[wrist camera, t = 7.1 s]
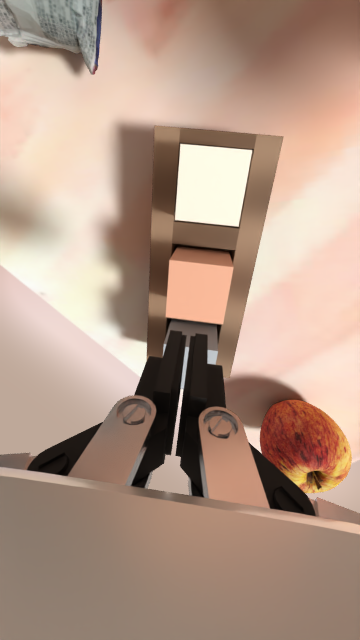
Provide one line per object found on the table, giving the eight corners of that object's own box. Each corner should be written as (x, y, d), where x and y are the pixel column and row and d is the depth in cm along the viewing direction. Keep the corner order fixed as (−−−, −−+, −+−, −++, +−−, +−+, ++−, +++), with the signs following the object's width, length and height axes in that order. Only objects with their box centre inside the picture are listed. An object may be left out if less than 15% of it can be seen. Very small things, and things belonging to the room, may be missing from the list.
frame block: (164, 137, 22) (153, 125, 18) (270, 146, 21) (284, 136, 17) (154, 344, 31) (146, 366, 27) (227, 354, 31) (229, 378, 27)
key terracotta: (177, 246, 22) (169, 259, 18) (229, 252, 22) (233, 267, 18) (173, 294, 24) (165, 317, 20) (220, 300, 24) (223, 324, 20)
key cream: (187, 154, 21) (180, 143, 16) (243, 159, 20) (252, 150, 16) (182, 214, 23) (174, 220, 18) (232, 219, 22) (238, 226, 18)
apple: (306, 372, 31) (345, 445, 22) (338, 418, 34) (384, 500, 25) (241, 401, 34) (252, 476, 25) (274, 442, 37) (295, 521, 28)
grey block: (171, 317, 26) (163, 343, 21) (216, 323, 25) (218, 351, 21) (168, 354, 28) (160, 385, 23) (210, 360, 27) (210, 392, 23)
